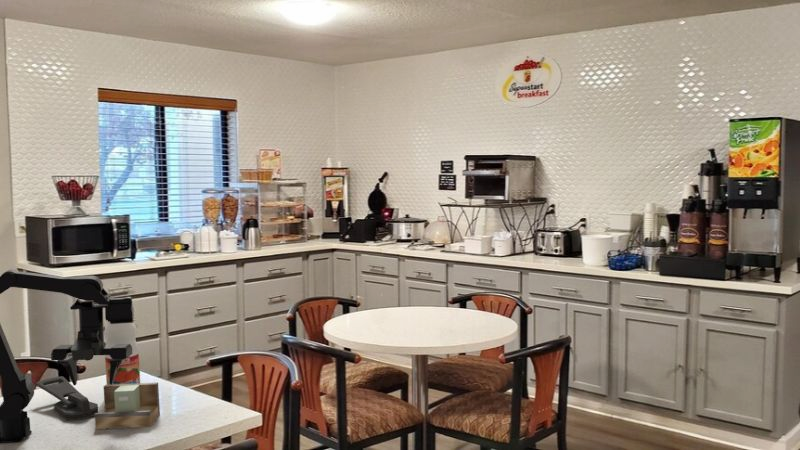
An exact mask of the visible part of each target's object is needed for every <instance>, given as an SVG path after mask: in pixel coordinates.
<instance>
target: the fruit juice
mask: <svg viewBox="0 0 800 450" xmlns="http://www.w3.org/2000/svg"><path fill="white" fill-rule="evenodd" d="M104 327H105V331H104V340H105V346H104V348H112V347H113V346H114V345H116V344H130V345H131V346H132V354H131V355H130V356H129V357H128V358H126V359H124V360H123V361H122V362H121V364H120V366H119V368H118V371H117V374H116V376H115V379H114V382H113V384H134V383H141V374H140V373H141V372H140V359H139V358H140V355H139V351H140V350H139V345H138V342H137V341H136V338H137V333H138V329H137V325H136V324H135V323H134V322H133V323H120V324H110V322H108V321H107V324H106V325H105V326H104ZM111 359H112V358H111V357H110V355H104V363H105V379H106V385H110V363H109V361H110V360H111ZM113 384H112V385H113Z"/></svg>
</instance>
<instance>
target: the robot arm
mask: <svg viewBox="0 0 800 450" xmlns="http://www.w3.org/2000/svg"><path fill="white" fill-rule="evenodd" d="M11 288H19V289H26V290H34V291H35V290H36V291H43V292H52V293H59V294H60V293H61V294H64V295H67V296H69V297H72V298H74V299H76V300H75V302H74V303H73V304H72V305H71V306H70V307H69V308H70V310H71V311H72V310H73V311H74V310H78V326H79V327H78V328H79V330H78V331H77V337H76V340H75V341H74V342H73V344H60V345H58V346H56V347H55V348H53V349H51V353H50V361H56V363H57V364H61V365H62V366H63V367H64V369H66V372H67V373H68V376H69V378H70V380H71V383H72V384H73V385H72V386H76V385H77V384H78V364H77V361H86V362H87V361H91V360H92V359H94V356H105V355H110V357H111V358H112V359H111V360H110V361H109V363H110V385H112V384H113V382H114V379H115V376H116V374H117V371H118V368H119V366H120V364H121V362H122V361H123V360H124V359H126V358H128V357H129V356H130V355H131V354H132V346H131V345H130V344H116V345H114V346H113V347H112V348H105V346H106V341H105V336H104V331H105V327H106V326H104V319H105V321H107V323H108V322H110V324H120V323H134V319H135V318H134V317H135V313H134V312H135V311H134V305H133V297H132V296H125V297H115V298H113V297H112V296H111V295H110V294H109V293H108V292H107V291H106V290H105V288H104V283H103V281H102V279H100V277H98V276H95V275H77V276H76V275H75V276H61V275H59V276H58V275H50V274H43V273H34V272H28V271H27V272H26V271H20V270H19V271H18V270H16V269H9V270H6V271H4V272H3V273H2V274H0V295H1V294H3V293H4V292H6V291H7V290H10V289H11ZM104 311H105V312H104ZM104 313H105V315H104ZM104 316H105V318H104ZM0 381H1V394H2V395H1V396H2V399H3V401H2V402H1V404H0V443H1V444H2V443H17V442H22V441H24V439H26V438H27V437H28V436H29V435H30V434H32V433H33V431H32V430H31V420H30V419H31V418H30V417H28V411H27V410H24V409H26V407H28V406H29V404H30V402H31V401H32V399H33V397H34V395H35V388H36V387H37V385H36V384H35V383H34V382H33V381H32V376H31V372H27V373H26V374H24V373H23V372H22V371H21V370H20V369H19V367H18V364H17V361H16V359H15V357H14V354H13V350H12V349H11V346H10V344H9V340H8V339H7V336H6V334H5V331H4V329H3V327H2V325H1V323H0Z"/></svg>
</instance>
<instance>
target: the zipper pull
mask: <svg viewBox="0 0 800 450" xmlns="http://www.w3.org/2000/svg"><path fill="white" fill-rule="evenodd" d="M35 386H36V387H39V388H40V389H41V390H43V391H45V392H47V393H48V394H50V395H51V396H53V397H54V398H56V399H57V400H59V401H57V402H55V403H54V404H53V409H54V413H56V414H57V415H58V416H59V417H60V418H62V419H63V420H65V421H69V422H77V421H81V420H86V419H89V418H92V417H95V413H99V406H98V403H96V402H93V401H89V399H88V397H87V396H85V395H83V394H82V393H81V392H80V391H79V390H78V389H76V388H75V387H74V385H72V384H71V383H70V382H69V380H67V379H66V378H65V377H64V376H62V375H61V376H54V377H49V378H46V379H43V380H39V381H37V382H35Z"/></svg>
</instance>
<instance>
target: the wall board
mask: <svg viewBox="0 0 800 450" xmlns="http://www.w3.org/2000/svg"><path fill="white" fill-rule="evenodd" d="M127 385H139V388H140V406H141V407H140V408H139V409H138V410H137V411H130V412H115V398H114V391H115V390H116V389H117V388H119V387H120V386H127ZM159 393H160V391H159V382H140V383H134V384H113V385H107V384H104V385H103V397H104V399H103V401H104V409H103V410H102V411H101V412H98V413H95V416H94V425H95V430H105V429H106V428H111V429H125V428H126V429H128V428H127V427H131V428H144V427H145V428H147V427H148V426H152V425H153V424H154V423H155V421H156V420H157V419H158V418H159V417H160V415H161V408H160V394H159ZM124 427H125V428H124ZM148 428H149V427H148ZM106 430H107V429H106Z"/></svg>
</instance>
